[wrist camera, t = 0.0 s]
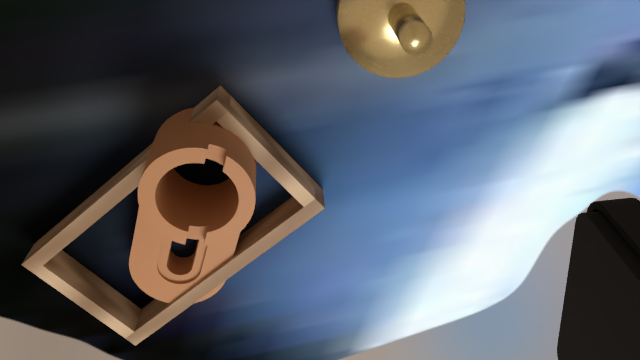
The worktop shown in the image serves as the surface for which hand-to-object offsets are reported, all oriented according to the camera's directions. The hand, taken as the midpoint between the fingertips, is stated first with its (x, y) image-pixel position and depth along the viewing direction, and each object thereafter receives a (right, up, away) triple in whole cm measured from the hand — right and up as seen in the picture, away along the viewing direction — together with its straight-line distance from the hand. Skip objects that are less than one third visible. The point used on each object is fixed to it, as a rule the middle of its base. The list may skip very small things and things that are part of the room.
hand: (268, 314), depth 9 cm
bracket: (-10, 0, +43) cm, 44 cm away
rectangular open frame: (-12, -1, +43) cm, 44 cm away
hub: (+6, +14, +35) cm, 39 cm away
